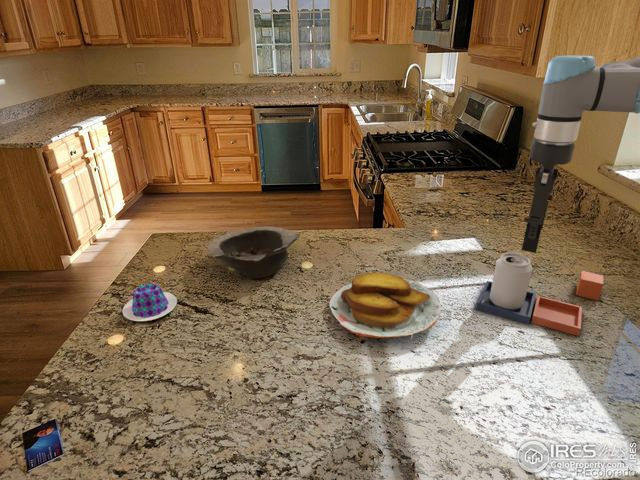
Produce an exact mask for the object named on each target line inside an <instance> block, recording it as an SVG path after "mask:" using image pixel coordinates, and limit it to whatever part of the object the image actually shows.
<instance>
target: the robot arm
mask: <svg viewBox="0 0 640 480" xmlns="http://www.w3.org/2000/svg"><path fill="white" fill-rule="evenodd" d="M585 111H587V112H612V113H615V112H616V113H632V114H637V115H638V114H640V56H638V57H634V58H630V59H626V60H621V61H611V62H607V63H603V64H602V65H600V66H596V58H595V57H594V56H592V55H557V56H554V57H552V58H551V59H550V60H549V62H548V65H547V69H546V73H545V76H544V80H543V85H542V90H541V95H540V101H539V106H538V112H537V113H538V114H537V118H536V121H534V122H533V123H532V124H531V126H532V128H535V129H534V133H533V138H534V140H533V141H532V142H531V147H530V152H529V159H530V160H531V161H532V162H536V163H540V164H541V166H537V168H536V170H535V173H534V183H533V189H532V190H533V192H534V193H533V197H532V202H531V205H530V209H529V214H528V217H524V219H523V222H524V223H527V224H526V227H525V232H524V237H523V240H522V247H521V251H522V252H523V251H524V252H528V253H529V252H530V253H532V254H533V253H534V254H536V253H537V251H538V250H537V249H538V245H539V241H540V237H541V233H542V230H543V228H544V223H545V218H546V214H547V209H548V205H549V201H552V200H553V197H554V196H553V195H552V192H553V190H554V184H555V183H556V181H557V179H558V176H559V175H558V173H559V168H556V166H558V165H560V166H561V165H562V166H563V165H567V164H569V163H571V161H572V159H573V155H574V151H575V146H576V145H575V144H574V143H575V142H576V141H577V140H578V136H579V131H580V126H581V122H582V117H583V114H584V112H585ZM550 194H551V195H550Z"/></svg>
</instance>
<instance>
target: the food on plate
mask: <svg viewBox="0 0 640 480" xmlns="http://www.w3.org/2000/svg"><path fill="white" fill-rule="evenodd" d="M328 307H329V308H330V310H331V313H332V314H333V316H334V317H335V318H336V320H337V321H338V322H339V323H338V324H339V325H340V326H341V327H342V328H344V329H346V330H347V331H350V334H355V335H356V336H357V340H358V341H360V342H361V341H363V337H366V338H375V339H384V338H387V339H389V338H399V337H407V336H410V340H412V339H413V337H414V334H417V333H420V332H424V331H425V332H426V330H427V329H433V327H434V326H435V325H436V324H437V322H438V320H439V318H440V317H441V313H442V312H443V310H442V303H441V301H440V298H439V296H437V294H436V293H434V292H433V290H431V289H429V288H428V287H427V286H425V285H424V284H423V285H422V283H419V282H417V281H413V280H411V279H408V278H404V277H402V276H398V275H396V274H391V273H387V272H375V271H374V272H366V273H361V274H359V275H356V276H354V278H352V280H351V282H350V283H348V284H345V285H344V286H341V287H340V288H339V289H338V290H337V291H336V292H335V293H334V294H333V295H331V298H330V299H329V301H328ZM331 323H332V324H334V322H333V321H331Z"/></svg>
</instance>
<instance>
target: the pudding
mask: <svg viewBox="0 0 640 480" xmlns="http://www.w3.org/2000/svg"><path fill="white" fill-rule="evenodd" d="M177 304H178V299H177V297H176V295H174V294H172V293H170V292H167V291H163V289H162V287H161V286H159V285H158V284H157V283H145V284H143V285H139V286H137V287H136V289H135V290H133V292H132V298H131V299H130V300H128V301H127V302H126V303H125V304H124V306H123V308H122V315H123V316H124V318H126V320H127V319H128V320H130V321H133V322H148V321H152V320H156V319H160V318H162V317H164V316H166V315H168V314H169V313H171V312H172V311H173V310H174V309H175V307H176V306H177Z"/></svg>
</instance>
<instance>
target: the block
mask: <svg viewBox="0 0 640 480" xmlns="http://www.w3.org/2000/svg"><path fill="white" fill-rule="evenodd" d="M603 287H604V274H603V275H602V274H599V273H593V272H589V271H585V270H581V272H580V275H579V279H578V282H577V285H576V293H575V295H576V296H577V297H581V298H585V299H586V298H587V299H590V300H593V301H599V299H600V296H601V293H602V290H603Z"/></svg>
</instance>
